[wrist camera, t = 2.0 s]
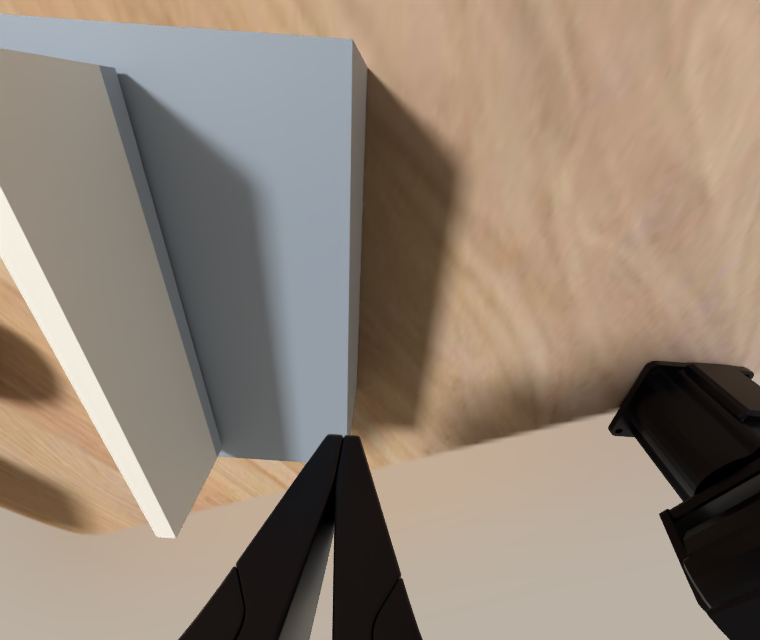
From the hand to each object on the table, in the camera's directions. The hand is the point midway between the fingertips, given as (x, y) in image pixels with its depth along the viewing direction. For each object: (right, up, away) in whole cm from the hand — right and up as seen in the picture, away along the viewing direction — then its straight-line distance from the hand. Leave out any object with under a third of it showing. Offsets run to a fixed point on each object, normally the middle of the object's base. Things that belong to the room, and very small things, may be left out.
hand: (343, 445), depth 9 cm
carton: (-5, +6, +10) cm, 13 cm away
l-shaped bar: (-8, +3, +5) cm, 10 cm away
